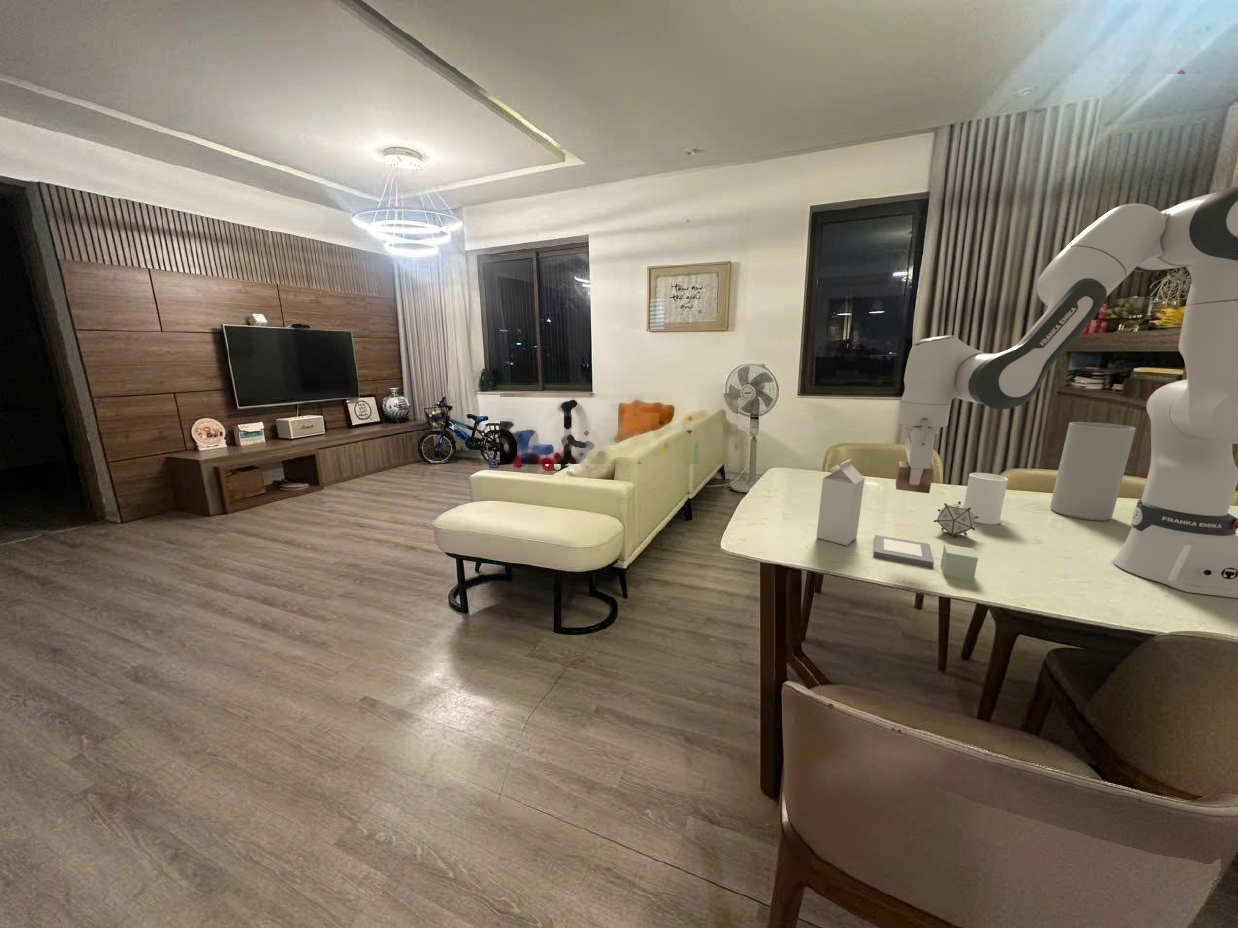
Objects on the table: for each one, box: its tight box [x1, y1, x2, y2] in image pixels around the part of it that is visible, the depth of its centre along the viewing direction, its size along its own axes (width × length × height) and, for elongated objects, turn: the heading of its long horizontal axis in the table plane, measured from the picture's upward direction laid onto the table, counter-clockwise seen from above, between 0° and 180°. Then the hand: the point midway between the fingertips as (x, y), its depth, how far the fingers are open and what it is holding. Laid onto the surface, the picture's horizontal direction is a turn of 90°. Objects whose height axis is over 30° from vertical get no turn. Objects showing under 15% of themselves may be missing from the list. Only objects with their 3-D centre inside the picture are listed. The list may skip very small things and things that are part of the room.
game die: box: [932, 501, 978, 538], centre depth 114 cm, size 9×8×10 cm
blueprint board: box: [872, 534, 935, 568], centre depth 104 cm, size 11×11×1 cm
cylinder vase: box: [1049, 421, 1136, 522], centre depth 127 cm, size 12×12×25 cm
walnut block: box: [895, 460, 934, 494], centre depth 100 cm, size 6×6×5 cm
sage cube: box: [940, 543, 979, 582], centre depth 94 cm, size 5×5×5 cm
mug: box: [963, 472, 1009, 526], centre depth 125 cm, size 12×8×12 cm
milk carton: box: [816, 459, 865, 546], centre depth 110 cm, size 7×7×19 cm
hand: (913, 479), depth 101 cm, fingers closed on walnut block, 6 cm apart
